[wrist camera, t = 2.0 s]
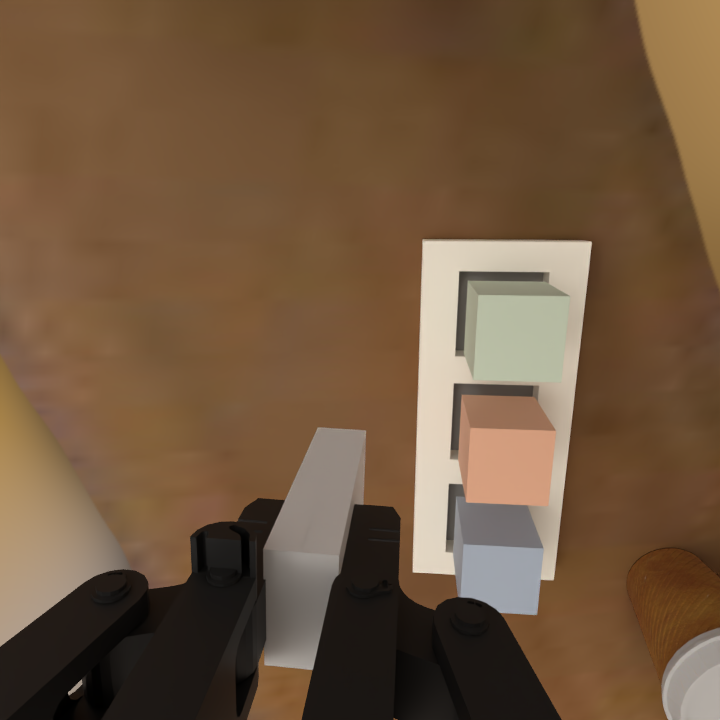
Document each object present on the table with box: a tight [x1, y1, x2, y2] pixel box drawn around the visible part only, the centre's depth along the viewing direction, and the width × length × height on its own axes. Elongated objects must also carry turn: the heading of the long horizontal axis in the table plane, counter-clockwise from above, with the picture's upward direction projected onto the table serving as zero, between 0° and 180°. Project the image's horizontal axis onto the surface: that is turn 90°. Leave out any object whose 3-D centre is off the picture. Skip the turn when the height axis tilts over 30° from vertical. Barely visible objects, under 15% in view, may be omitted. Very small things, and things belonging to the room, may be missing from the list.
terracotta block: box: [458, 395, 556, 506], centre depth 36 cm, size 5×5×6 cm
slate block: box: [453, 497, 544, 615], centre depth 39 cm, size 5×5×6 cm
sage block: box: [464, 281, 570, 383], centre depth 34 cm, size 5×5×6 cm
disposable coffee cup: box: [627, 548, 720, 720], centre depth 39 cm, size 10×10×12 cm
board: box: [413, 239, 592, 580], centre depth 41 cm, size 26×11×2 cm, turn 0°
